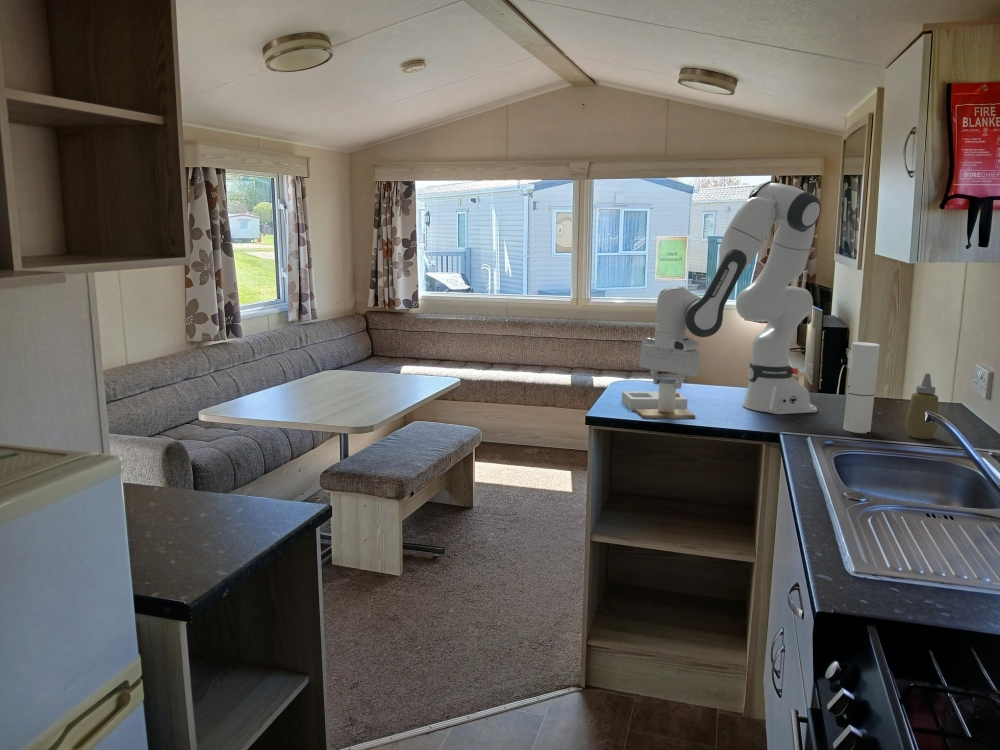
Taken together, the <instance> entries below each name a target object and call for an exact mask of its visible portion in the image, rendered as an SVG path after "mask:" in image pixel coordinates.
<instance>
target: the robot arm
mask: <svg viewBox="0 0 1000 750" xmlns="http://www.w3.org/2000/svg"><path fill="white" fill-rule="evenodd" d="M820 201H821V200H820V199H819V198H818V196H816V195H815V194H813V193H812V192H809V191H805V190H803V189H801V188H798V187H796V186H794V185H788V184H785V183H778V182H777V181H774V180H763V181H761V182H759V183H757V184H756V185H755V186H754V187H753V188H752V189H751V192H750V193H749V196H748V199H746V201H745V202H744V203H743V204H742V205H741V207H740V208H739V209H738V210H737V212H736V213H735V215H734V216H733V218H732V219H731V221H730V223H729V224H728V226H727V229H726V231H725V232H724V234H723V237H722V239H721V242H720V246H719V250H718V252H719V254H718V255H719V260H718V266H717V269H716V271H715V274H714V276H713V278H712V280H711V281H710V284H709V285H708V287H707V289H706V291H705V292H704V295H703V296H702V297H701V296H699V295H697V294H695V293H693V292H691V291H689V290H688V289H687V288H686V287H684V286H672V287H671V286H670V287H667V288H664V289H663V290H661V291H660V292H659V294H658V297H657V301H656V302H657V303H656V311H655V312H656V313H655V317H656V326H655V329H654V338H650V337H646V338H644V339H643V340H642V341H641V348H640V353H639V359H638V364H639V367H641V368H644V369H649V370H650V375H651V377H652V379H653V382H652V384H653V385H658V386H659V384H660V382H659V381H660V378H661V377H659V371H660V372H666V373H671V374H675V375H676V374H677V375H676V376H677V378H678V379H677V382H674V388H676V390H680V389H682V384H683V382H684V380H685V379H686V377H687V376H688V377H693V376H697V375H698V374H699V372H700V369H701V367H700V366H701V363H700V361H701V360H700V359H701V358H700V353H699V351H698V350H699V349H700V343H699V342H698V341H697V340H694V339H693V338H691V337H690V336H688V335H686V331H687V330H688V331H689V332H690V333H691V334H693V335H694V336H696V337H699V338H709V337H711V336H714V335H715V334H716V333H718V331H719V330H720V329H721V327H722V324H723V319H724V318H723V317H724V309H725V305H726V304H727V301H728V300H729V297H730V296H731V293H732V292H733V290H734V288H735V286H736V284H737V282H738V281H739V278H740V277H741V276H742V274H743V273H744V272H745V270H746V269H747V267H748V266H750V264H751V263H752V261H753V260H754V259H755V257H757V254H759V252H760V250H761V249H762V247H763V245H764V243H765V242H766V240H767V238H768V235H769V233H770V231H771V229H772V227H773V225H774V224H778V225H777V228H776V231H775V234H774V237H773V239H772V240H773V241H772V244H771V247H770V251H769V254H768V256H767V260H766V263H765V265H764V267H763V268H762V270H761V271H760V273H759V274H758V276H757V277H756V278H755V280H753V282H752V283H750V284H749V285H748V286H747V287H745V288H744V289H742V290H741V291H740V292H739V293H738V295H737V297H736V301H735V308H736V311H737V313H738V315H739V317H740V318H742V319H744V320H748V321H752V322H767V323H766V326H765V327H764V329H763V330H762V331H761V332H760V333H759V334H757V335H756V336H755V337H754V339H753V341H752V349H751V350H752V351H751V361H750V363H749V369H748V386H747V392H746V395H745V398H744V401H743V403H742V406H743V407H744V408H747V409H748V410H751V411H757V412H765V413H770V414H775V415H787V414H789V415H790V414H804V413H805V414H806V413H816V412H818V409H817V406H815V405H814V404H812V403H811V398H810V397H811V396H810V392H809V390H808V389H807V388H806V387H805V386H803V384H801V383H800V382H799V381H797V380H796V379H795V378H794V377H793V375H799V373H800V369H799V368H797V367H795V366H794V367H792V366H790V364H789V357H790V347H791V343H792V339H793V337H794V334H795V332H796V330H797V328H798V327H799V325H800V323H801V322H802V321H803V320H804V319H806V317H808V316H809V315H810V314H811V311H812V310H813V306H814V300H813V296H812V294H811V293H810V291H809V290H808V289H806V288H803V287H799V286H794V285H790V284H791V283H792V282H793V280H795V279H797V278H798V277H800V276H801V275H803V273H804V271H805V268H806V265H807V262H808V258H809V256H810V253H811V250H812V249H811V248H812V245H813V241H814V236H815V229H816V222H817V221H818V220H819V218H820V215H821V212H822V206H821V205H822V204H821V202H820Z"/></svg>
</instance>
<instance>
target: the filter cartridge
mask: <svg viewBox="0 0 1000 750" xmlns="http://www.w3.org/2000/svg"><path fill="white" fill-rule="evenodd" d="M659 378H660V381H659V382H660V384H658V391H659V400H658V411H660V412H669V413H671V412H675V397H676V392H677V388H674V382H677V381H678V379H677V378H675V377H674V378H672V377H659Z"/></svg>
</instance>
